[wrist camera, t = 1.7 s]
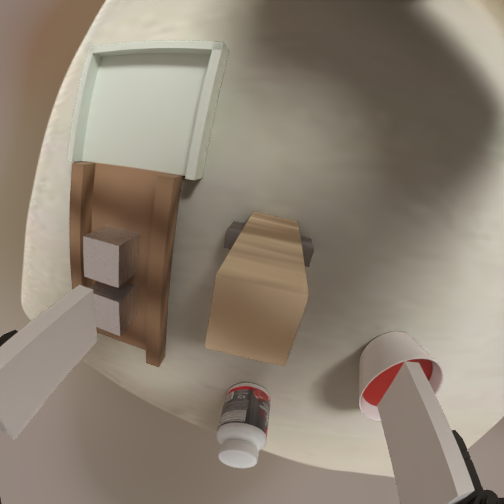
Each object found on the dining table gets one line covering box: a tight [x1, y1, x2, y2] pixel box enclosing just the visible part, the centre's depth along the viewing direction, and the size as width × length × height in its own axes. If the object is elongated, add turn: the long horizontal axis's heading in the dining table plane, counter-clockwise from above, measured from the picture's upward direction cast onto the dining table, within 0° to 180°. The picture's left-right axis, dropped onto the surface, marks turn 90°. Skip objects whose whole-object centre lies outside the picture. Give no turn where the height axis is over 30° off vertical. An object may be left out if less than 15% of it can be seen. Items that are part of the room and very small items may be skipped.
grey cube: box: [83, 225, 140, 288], centre depth 25 cm, size 4×4×4 cm
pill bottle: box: [216, 383, 270, 468], centre depth 28 cm, size 5×5×10 cm
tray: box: [67, 40, 229, 180], centre depth 22 cm, size 12×14×2 cm
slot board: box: [70, 162, 183, 367], centre depth 27 cm, size 20×11×3 cm, turn 168°
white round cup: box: [359, 331, 443, 421], centre depth 26 cm, size 9×9×6 cm
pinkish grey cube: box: [89, 281, 138, 336], centre depth 27 cm, size 4×4×4 cm
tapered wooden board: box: [205, 211, 314, 366], centre depth 19 cm, size 4×7×14 cm, turn 78°
